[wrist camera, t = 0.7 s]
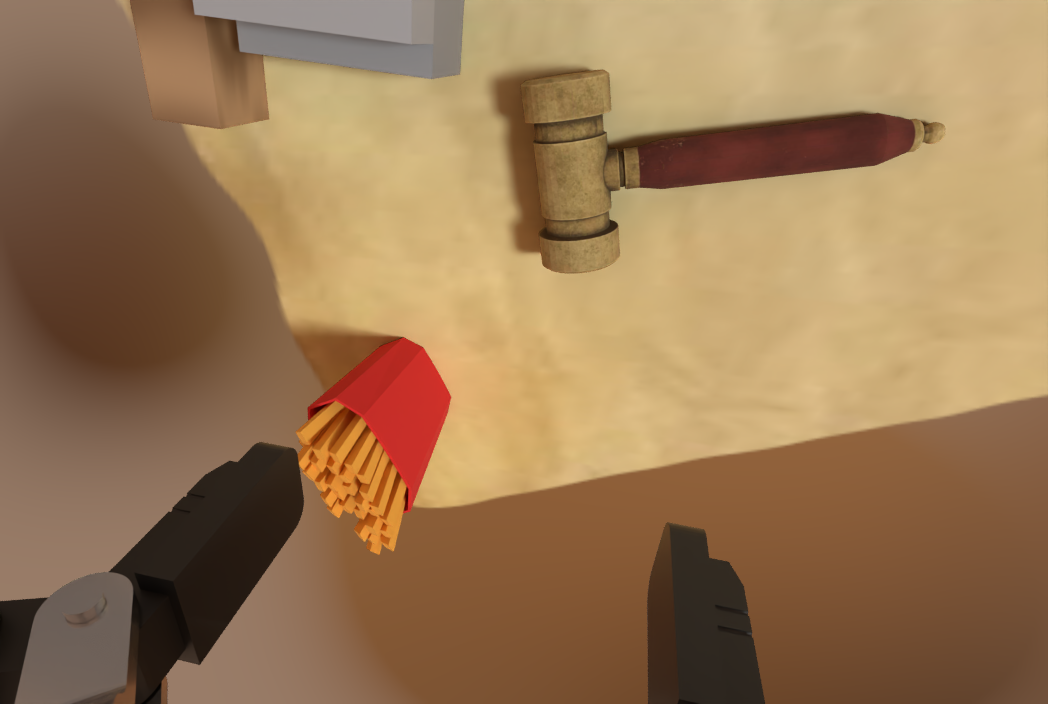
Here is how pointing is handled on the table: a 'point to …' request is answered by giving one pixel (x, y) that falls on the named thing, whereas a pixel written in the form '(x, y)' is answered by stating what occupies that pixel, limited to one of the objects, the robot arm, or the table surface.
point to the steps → (351, 32)
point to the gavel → (672, 160)
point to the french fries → (376, 438)
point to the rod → (197, 67)
